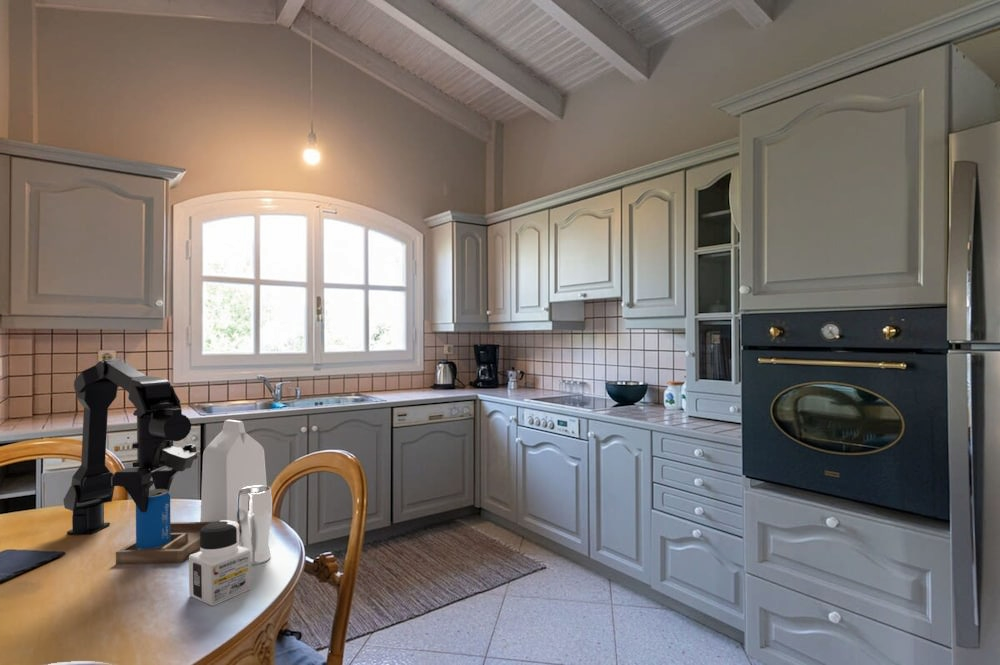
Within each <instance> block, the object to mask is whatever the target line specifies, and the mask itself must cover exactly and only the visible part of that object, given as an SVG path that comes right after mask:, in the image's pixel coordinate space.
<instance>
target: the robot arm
mask: <svg viewBox="0 0 1000 665" xmlns="http://www.w3.org/2000/svg"><path fill="white" fill-rule="evenodd" d="M73 388H74V391H75V397H76V399H77V400H78V401H79V403H80V404H81V406H82V407H83V415H82V416H83V418H82V421H83V422H82V440H81V461H80V462H81V463H80V466H79V468H78V469H77V470H76V472H75V473H74V474H73V476H72V479H71V484H70V487H69V488H68V490H67V492H66V493H65V495H64V497H63V507H64V509H67V510H69V511H72V516H71V519H72V520H71V522H72V523H71V526H72V527H71V529H70V530H67V531H66V534H67V535H76V534H77V535H80V534H82V535H83V534H84V535H85V534H88V535H89V534H90V535H91V534H94V533H96V532H98V531H100V530H102V529H104V528H106V527H108V526H110V525H111V522H105V509H104V507H105V506H104V505H105V503H111V502H112V500H113V496H114V490H115V487H120V488H124V489H125V491H126V492H127V494H128V495H129V496H130V498H131V499H132V501H133V502H134V504H135V506H136V505H137V507H138V509H139V510H140V512H146V511H147V507H148V498H149V490H150V489H151V487H153V486H154V489H166V490H168V493H169V491H170V489H171V488H170V487H171V485H172V482H173V480H174V478H175V476H176V475H177V474H179V473H180V472H185V470H186V469H190V468H192V465H193V463H194V461H195V460H196V459H198V455H197V454H198V452H197V445H195V444H193V443H188V444H186V445H185V446H179V447H178V446H174V442H180V441H182V440H184V439H185V438H187V436H189V434H190V432H191V430H192V423H191V421H190V419H189V417H188V416H186V415H184V414H182V412H183V411H182V410H183V409H182V406H181V400H180V399H179V397H178V395H177V393H176V392H175V388H174V387H173V385H172V383H171V382H170V381H169V380H168V379H166V378H163V377H157V376H155V377H154V376H148V375H146V374H144V373H143V372H141V371H139V370H137V369H135V367H132V366H131V365H130V364H127V361H125V359H121V358H117V359H115V358H113V359H102V360H99V361H98V362H96V364H95V365H92V366H91V367H88V368H86V369H84V370H82V371H81V372H80V373H79V374H78V376H77V377H76V378H75V379H74V382H73ZM119 388H121V389H122V390H124V391H126V392H127V393H128V398H127V399H128V400H129V401H130V402H131V403H132V405H133V406H134V407H135V410H134V411H133V414H132V415H133V416H134V417H136V442H135V443H134V442H133V443H132V445H131V446H132V449H136V450H137V453H136V454H137V457H136V461H133V462H132V467H126V468H122V469H120V470H118V471H115V472H114V473H113V472H111V471H110V470H109V468H108V467H107V466H106V455H107V438H108V437H107V435H108V434H107V433H108V432H107V431H108V418H109V417H108V416H109V415H108V413H109V408H110V407H111V405H112V404H113V402H114V401H115V400H116V398H117V397H118V396H117V395H118V389H119ZM151 479H152V480H151Z"/></svg>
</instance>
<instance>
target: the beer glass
mask: <svg viewBox="0 0 1000 665" xmlns="http://www.w3.org/2000/svg"><path fill="white" fill-rule="evenodd" d="M272 517H273V498H272V487H271V486H268V485H267V486H251V487H246V488H243V489H240V490H239V491H238V496H237V522H238V524H239V538H240V543H241V547H244V548H247V549H250V551H251V566H256V565H255V564H257V565H261V564H263V562H264V563H265V561H266V562H267V561H269V560H270V559H271V557H272V555H271V551H270V546H269V538H270V536H269V535H270V529H271V525H272V524H271V523H272ZM260 563H261V564H260Z"/></svg>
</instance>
